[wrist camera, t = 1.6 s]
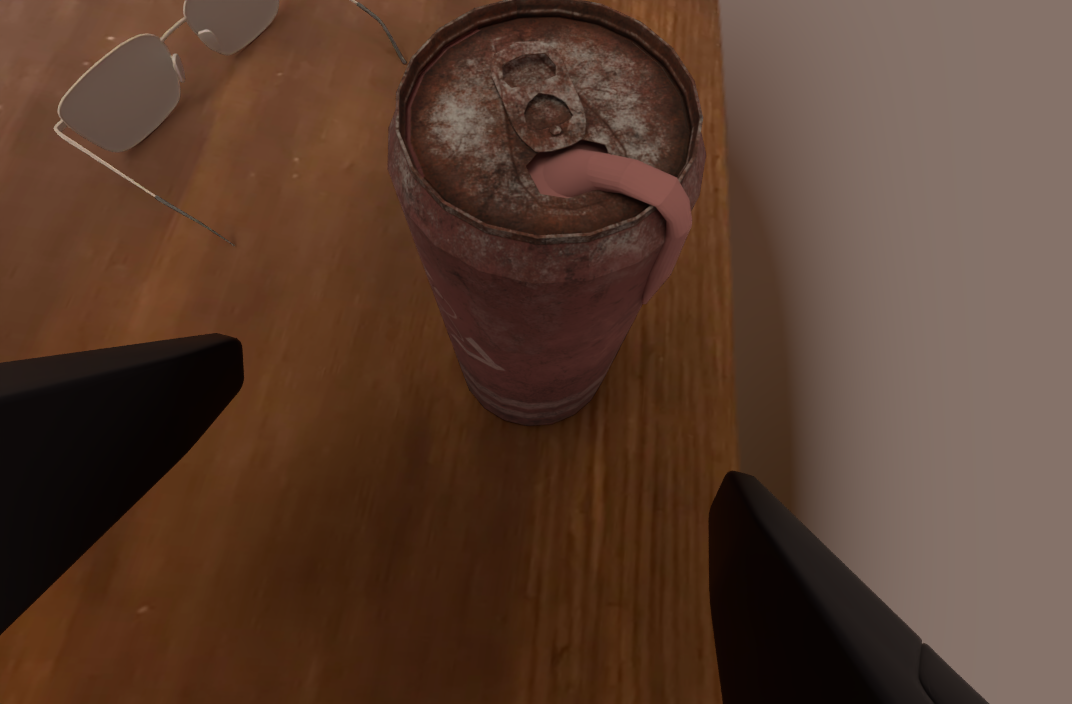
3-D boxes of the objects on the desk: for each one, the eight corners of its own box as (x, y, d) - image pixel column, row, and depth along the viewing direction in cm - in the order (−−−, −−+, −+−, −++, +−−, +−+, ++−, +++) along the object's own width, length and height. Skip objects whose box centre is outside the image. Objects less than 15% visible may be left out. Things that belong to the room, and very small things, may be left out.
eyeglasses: (294, 0, 29) (265, -78, 25) (413, 69, 28) (402, 0, 24) (101, 174, 25) (31, 113, 21) (235, 260, 24) (189, 213, 20)
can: (562, 460, 21) (630, 332, 8) (433, 377, 22) (298, 137, 9) (635, 342, 23) (794, 70, 9) (513, 270, 24) (502, -65, 10)
